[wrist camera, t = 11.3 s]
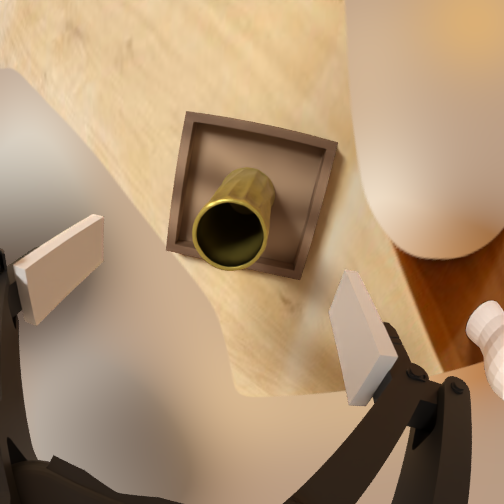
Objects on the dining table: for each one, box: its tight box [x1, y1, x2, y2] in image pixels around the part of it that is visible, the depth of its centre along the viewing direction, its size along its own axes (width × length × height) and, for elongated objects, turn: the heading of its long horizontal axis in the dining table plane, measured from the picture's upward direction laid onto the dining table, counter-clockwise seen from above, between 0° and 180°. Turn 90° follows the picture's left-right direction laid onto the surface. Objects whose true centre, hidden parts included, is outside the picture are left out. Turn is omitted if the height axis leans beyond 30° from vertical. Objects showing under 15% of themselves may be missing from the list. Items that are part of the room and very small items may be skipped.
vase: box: [192, 167, 275, 271], centre depth 27 cm, size 6×6×14 cm
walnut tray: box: [166, 111, 338, 280], centre depth 33 cm, size 16×16×2 cm
